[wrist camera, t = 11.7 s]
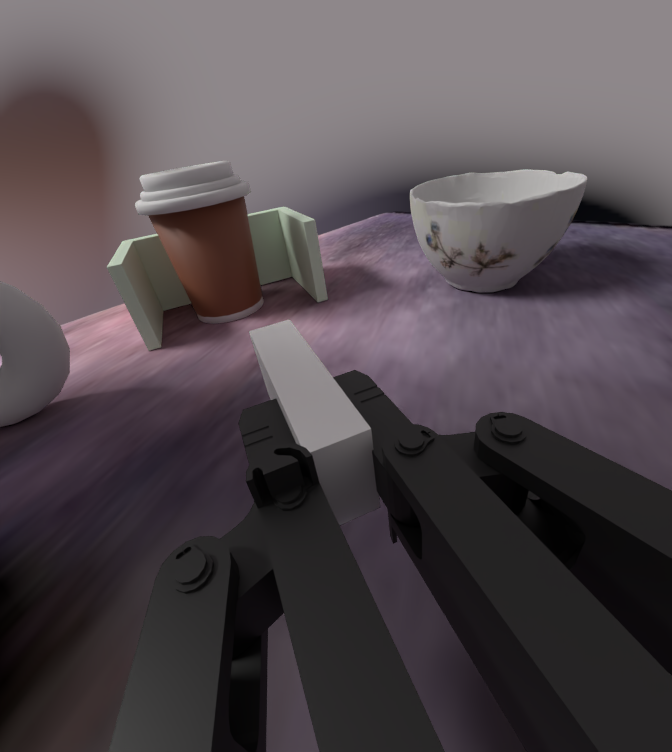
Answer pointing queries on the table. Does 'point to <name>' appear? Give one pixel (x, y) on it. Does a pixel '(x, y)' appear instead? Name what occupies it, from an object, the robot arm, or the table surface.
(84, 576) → the table surface
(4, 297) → the donut
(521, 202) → the teacup
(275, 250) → the green u-shaped bracket
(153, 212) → the coffee cup
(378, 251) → the table surface
